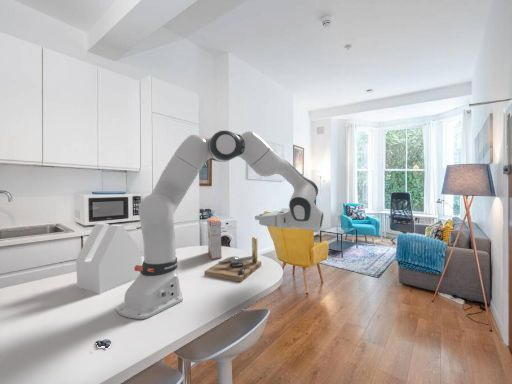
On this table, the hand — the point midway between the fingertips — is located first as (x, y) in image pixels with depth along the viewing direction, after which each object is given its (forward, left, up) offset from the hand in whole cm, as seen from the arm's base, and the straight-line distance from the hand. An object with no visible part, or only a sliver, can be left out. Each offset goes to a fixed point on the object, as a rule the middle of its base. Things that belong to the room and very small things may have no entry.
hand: (257, 216), depth 121 cm
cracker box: (+14, +33, -26) cm, 44 cm away
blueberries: (-66, +17, -27) cm, 73 cm away
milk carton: (-35, +54, -26) cm, 70 cm away
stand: (-3, +11, -26) cm, 28 cm away
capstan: (-1, +10, -24) cm, 25 cm away
